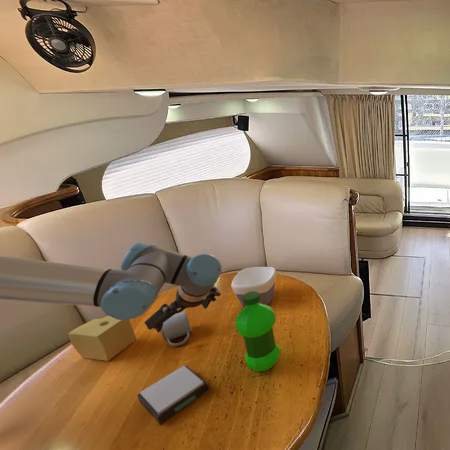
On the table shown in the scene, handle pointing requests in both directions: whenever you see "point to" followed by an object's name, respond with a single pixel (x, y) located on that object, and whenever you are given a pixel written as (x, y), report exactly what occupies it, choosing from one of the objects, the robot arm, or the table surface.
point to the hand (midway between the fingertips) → (181, 316)
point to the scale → (172, 393)
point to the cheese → (102, 338)
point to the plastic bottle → (258, 333)
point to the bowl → (255, 283)
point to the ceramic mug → (176, 328)
